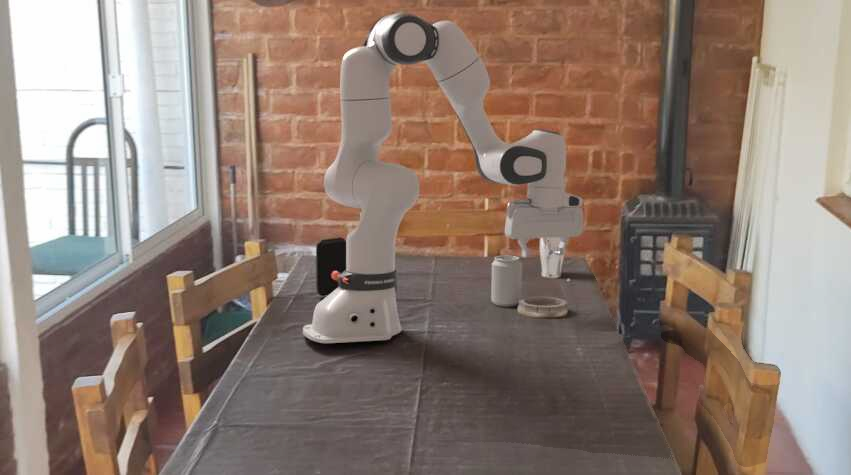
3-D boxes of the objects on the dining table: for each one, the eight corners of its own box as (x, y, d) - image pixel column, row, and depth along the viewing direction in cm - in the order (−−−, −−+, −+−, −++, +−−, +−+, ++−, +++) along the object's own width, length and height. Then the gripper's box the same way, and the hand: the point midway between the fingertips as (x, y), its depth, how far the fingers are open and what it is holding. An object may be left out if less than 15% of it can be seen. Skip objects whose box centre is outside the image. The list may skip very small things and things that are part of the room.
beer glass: (558, 287, 247) (559, 233, 244) (534, 284, 250) (536, 231, 248) (567, 283, 253) (569, 230, 250) (544, 280, 256) (545, 228, 254)
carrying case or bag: (345, 290, 241) (345, 235, 239) (353, 292, 239) (352, 237, 236) (313, 296, 233) (313, 239, 231) (321, 298, 231) (320, 241, 229)
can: (521, 301, 230) (522, 254, 228) (520, 308, 222) (521, 260, 220) (492, 299, 231) (492, 253, 229) (490, 307, 223) (491, 259, 221)
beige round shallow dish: (534, 319, 211) (534, 309, 211) (508, 308, 222) (508, 298, 221) (577, 314, 216) (577, 304, 216) (549, 304, 227) (550, 294, 226)
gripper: (514, 200, 208) (512, 260, 209) (588, 199, 216) (585, 256, 218) (500, 198, 213) (498, 255, 215) (573, 196, 222) (570, 252, 224)
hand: (543, 256), depth 217 cm, fingers open, 8 cm apart
